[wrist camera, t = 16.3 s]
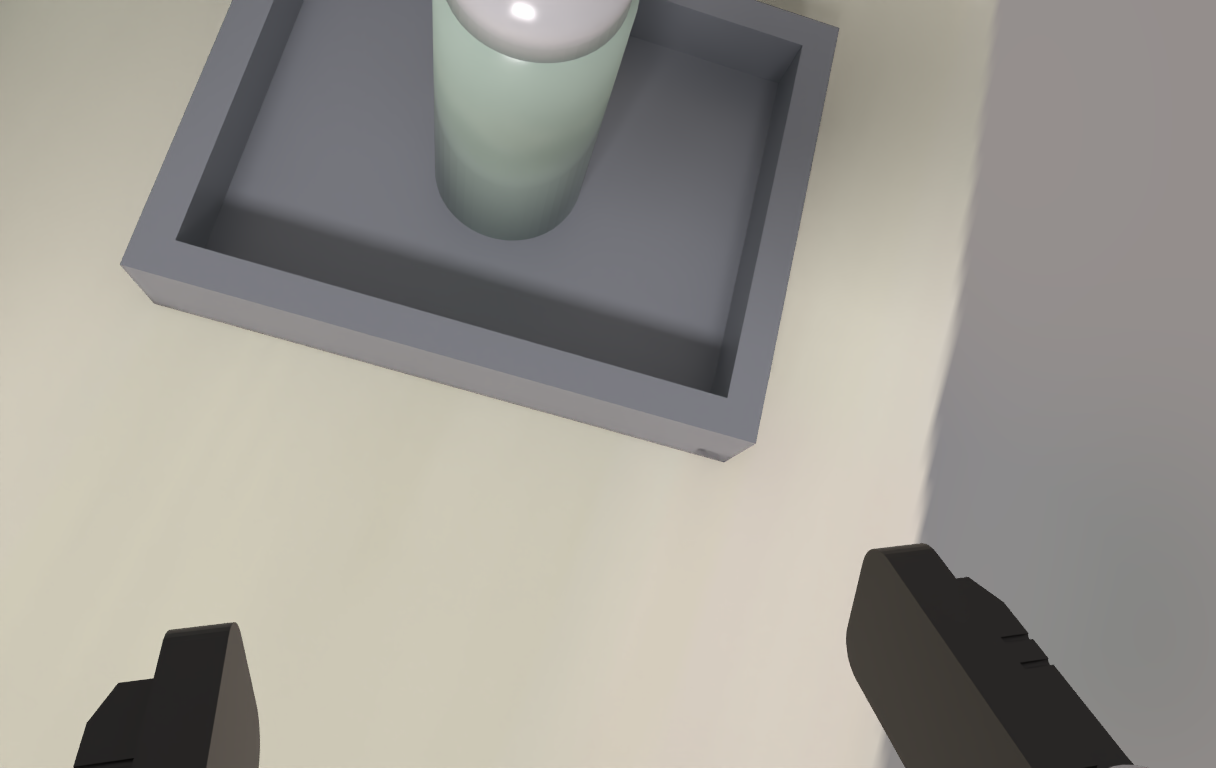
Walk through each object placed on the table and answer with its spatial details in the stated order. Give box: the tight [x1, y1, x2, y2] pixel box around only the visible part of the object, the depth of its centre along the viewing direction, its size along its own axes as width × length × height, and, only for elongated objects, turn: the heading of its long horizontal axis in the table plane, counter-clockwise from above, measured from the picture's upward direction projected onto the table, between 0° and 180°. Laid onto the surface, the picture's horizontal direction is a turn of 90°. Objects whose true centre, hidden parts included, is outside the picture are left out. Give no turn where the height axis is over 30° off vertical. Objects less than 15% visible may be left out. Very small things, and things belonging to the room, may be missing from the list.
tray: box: [120, 0, 839, 462], centre depth 33 cm, size 20×16×4 cm
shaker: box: [432, 0, 639, 241], centre depth 28 cm, size 5×5×12 cm
